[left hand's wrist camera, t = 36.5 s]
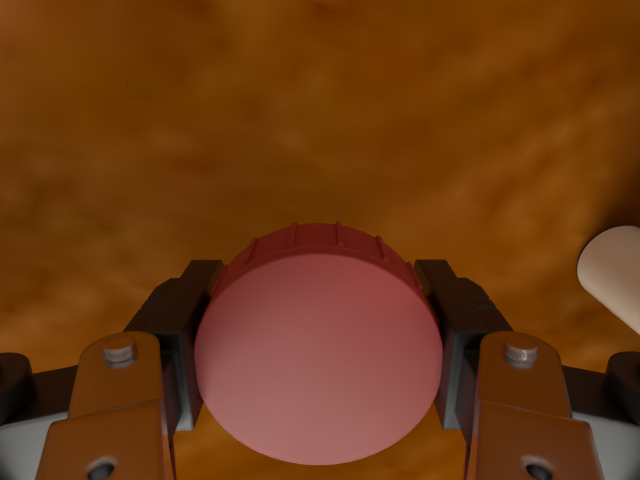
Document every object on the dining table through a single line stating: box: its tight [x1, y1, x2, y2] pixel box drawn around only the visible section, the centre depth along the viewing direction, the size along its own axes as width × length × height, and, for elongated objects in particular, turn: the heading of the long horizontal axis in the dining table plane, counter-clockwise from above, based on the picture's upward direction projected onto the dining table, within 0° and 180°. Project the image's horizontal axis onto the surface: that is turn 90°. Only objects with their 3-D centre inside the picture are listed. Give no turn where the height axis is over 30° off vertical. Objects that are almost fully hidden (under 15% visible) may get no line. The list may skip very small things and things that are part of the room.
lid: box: [194, 222, 443, 465], centre depth 10 cm, size 5×5×2 cm
